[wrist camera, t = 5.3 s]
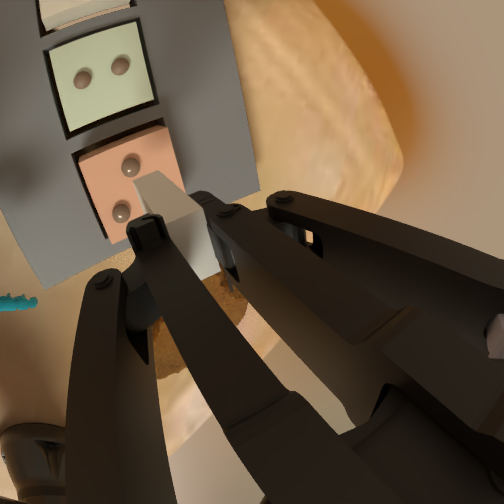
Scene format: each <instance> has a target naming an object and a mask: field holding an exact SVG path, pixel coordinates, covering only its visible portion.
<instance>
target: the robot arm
mask: <svg viewBox="0 0 504 504" xmlns="http://www.w3.org/2000/svg"><path fill="white" fill-rule="evenodd" d="M132 182H133V185H134V187H135V190H136V193H137V196H138V199H139V201H140V204H141V207H142V210H143V212H144V215H142V216H140V217H138V218H136V219H133V220H131V221H129V222H128V224H127V226H126V235H127V237H128V239H129V242H130V244H131V246H132V248H133V251H134V253H135V255H136V257H135V260H134V262H133V263H132V264H131V266H130V267H129V268H127V269H126V270H125V271H124V272H122V273H121V272H120V271H119V270H118V269H114V268H110V269H106V270H103V271H100V272H98V273H96V274H95V275H94V276H93V277H92V278H91V279H90V280H89V282H88V283H87V285H86V288H85V292H84V296H83V301H82V306H81V310H80V315H79V320H78V325H77V331H76V337H75V343H74V349H73V355H72V362H71V370H70V378H69V387H68V398H67V410H66V427H65V429H64V428H61V427H57V426H52V425H45V424H21V425H16V426H13V427H10V428H8V429H7V430H5V431H4V432H3V433H2V435H1V437H0V448H1V455H2V458H3V460H4V462H5V463H6V465H7V469H8V472H9V474H10V477H11V479H12V481H13V483H14V486H15V488H16V491H17V495H18V500H19V501H16V500H13V499H10V498H6V497H3V496H0V504H177V500H176V495H175V491H174V486H173V482H172V477H171V472H170V467H169V462H168V456H167V451H166V445H165V439H164V433H163V426H162V420H161V413H160V405H159V397H158V389H157V380H156V370H155V359H154V348H153V334H152V329H151V327H150V325H152V324H153V323H154V322H155V321H156V320H158V319H159V318H160V317H161V316H162V318H163V320H164V322H165V324H166V326H167V328H168V330H169V332H170V334H171V336H172V338H173V340H174V342H175V344H176V346H177V348H178V350H179V352H180V354H181V356H182V358H183V360H184V362H185V364H186V366H187V368H188V370H189V371H190V373H191V375H192V377H193V379H194V381H195V382H196V384H197V386H198V388H199V390H200V391H201V393H202V395H203V397H204V399H205V400H206V402H207V404H208V405H209V407H210V409H211V411H212V412H213V414H214V416H215V417H216V419H217V421H218V422H219V424H220V425H221V427H222V429H223V432H224V434H225V436H226V437H227V439H228V441H229V442H230V444H231V446H232V447H233V449H234V451H235V452H236V454H237V455H238V457H239V458H240V460H241V461H242V463H243V464H244V466H245V467H246V468H247V470H248V472H249V473H250V474H251V476H252V477H253V479H254V480H255V482H256V483H257V484H258V486H259V487H260V489H261V490H262V491H263V493H264V494H265V496H264V498H263V499H262V501H261V502H260V504H504V260H503V259H498V258H496V257H494V256H491V255H489V254H486V253H484V252H481V251H479V250H476V249H474V248H471V247H468V246H466V245H463V244H461V243H458V242H455V241H453V240H450V239H447V238H444V237H442V236H439V235H436V234H433V233H430V232H427V231H424V230H422V229H419V228H416V227H413V226H410V225H407V224H404V223H401V222H398V221H395V220H392V219H389V218H386V217H382V216H379V215H376V214H373V213H370V212H367V211H363V210H360V209H357V208H353V207H350V206H346V205H343V204H340V203H336V202H333V201H329V200H325V199H322V198H318V197H315V196H311V195H307V194H303V193H300V192H296V191H285V190H283V191H278V192H276V193H274V194H271V195H270V196H269V197H267V200H266V204H267V208H263V209H259V210H254V211H251V210H249V209H248V208H246V207H245V206H243V205H241V204H234V203H232V204H225V203H224V202H222V201H221V200H220V199H218V198H217V197H215V196H214V195H213V194H211V193H210V192H208V191H201V190H200V191H197V192H195V193H192V194H190V195H187V194H186V193H185V192H183V191H182V190H181V189H180V188H179V187H178V186H176V185H175V184H174V183H173V182H172V181H171V180H169V179H168V178H167V177H166V176H165V175H164V174H163V173H161V172H160V171H159V170H157V171H154V172H152V173H149V174H147V175H144V176H142V177H139V178H137V179H135V180H132ZM306 230H308V231H311V232H313V243H310V242H307V241H306ZM218 260H219V262H220V263H221V264H222V265H223V268H224V271H225V275H226V278H227V281H228V285H229V288H230V291H231V292H233V291H234V290H233V285H234V286H235V287H236V288H237V289H238V291H239V292H240V293H241V294H242V295H243V296H244V297H245V298H246V300H247V301H248V302H249V303H250V304H251V305H252V306H253V307H254V309H255V310H256V311H257V312H258V313H259V314H260V315H261V316H262V317H263V319H264V320H265V321H266V322H267V323H268V324H269V325H270V326H271V327H272V329H273V330H274V331H275V332H276V333H277V334H278V335H279V336H280V337H281V338H282V339H283V340H284V342H285V343H286V344H287V345H288V346H289V347H290V348H291V349H292V350H293V351H294V353H295V354H296V355H297V356H298V357H299V358H300V359H301V360H302V361H303V362H304V363H305V364H306V365H307V366H308V367H309V369H310V370H311V371H312V372H313V373H314V374H315V375H316V376H317V377H318V378H319V379H320V380H321V381H322V382H323V383H324V384H325V386H327V388H328V389H329V390H330V391H331V392H332V393H333V394H334V395H335V396H336V397H337V398H338V399H339V400H340V401H341V403H342V404H343V406H344V407H345V410H346V412H347V415H348V417H349V418H350V420H351V421H352V423H353V424H354V425H355V426H356V428H354V429H351V430H349V431H347V432H345V433H343V434H340V435H338V434H337V433H336V432H335V431H334V430H333V429H332V428H331V427H330V426H329V425H328V423H327V422H326V421H325V420H324V419H323V418H322V417H321V416H320V415H319V414H318V412H317V411H316V410H315V409H314V408H313V407H312V406H311V405H310V403H309V402H308V401H307V400H305V398H304V397H303V396H301V395H300V394H299V393H297V392H296V391H289V390H288V389H286V388H285V387H284V386H283V384H281V382H280V381H279V380H278V379H277V377H276V376H275V375H274V374H273V373H272V371H271V370H270V369H269V368H268V366H267V365H266V364H265V363H264V362H263V360H262V359H261V358H260V357H259V355H258V354H257V353H256V352H255V350H254V349H253V348H252V347H251V345H250V344H249V343H248V342H247V340H246V339H245V338H244V336H243V335H242V334H241V333H240V331H239V330H238V329H237V327H236V326H235V325H234V324H233V322H232V321H231V320H230V318H229V317H228V316H227V315H226V313H225V312H224V311H223V309H222V308H221V307H220V305H219V304H218V303H217V301H216V300H215V299H214V297H213V296H212V295H211V293H210V292H209V291H208V289H207V288H206V287H205V285H204V284H203V283H202V281H201V280H203V279H205V278H207V277H210V276H212V275H214V274H216V273H218V272H220V271H221V269H220V266H219V263H218Z"/></svg>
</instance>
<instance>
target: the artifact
mask: <svg viewBox="0 0 504 504" xmlns="http://www.w3.org/2000/svg"><path fill="white" fill-rule="evenodd" d="M220 269H221V271H220V272H218V273H216V274H214V275H212V276H210V277H207V278H205V279H203V280H201V281H202V283H203V284H204V285H205V287H206V288H207V289H208V291H209V292H210V293H211V295H212V296H213V297H214V299H215V300H216V301H217V303H218V304H219V305H220V307H221V308H222V309H223V311H224V312H225V313H226V315H227V316H228V317H229V318H230V320H231V321H232V322H233V324H234V325H235V326H236V325H238V324H239V322H240V321H241V320H242V318H243V317H244V315H245V312H246V309H247V304H248V301H247V300H246V298H245V297H244V296H243V295H242V294H241V293H240V292H239V291H238V289H237V288H236V287H235V286H234V285H233V290H234V291H233V292H231V291H230V288H229V285H228V281H227V278H226V277H225V274H224V271H223V269H222V268H221V267H220ZM152 334H153V348H154V359H155V370H156V379H163V378H166V377H167V376H169V375H171V374H173V373H179V372H180V371H181V370H183V369H184V368H186V367H187V366H186V364H185V362H184V360H183V358H182V356H181V354H180V352H179V350H178V348H177V346H176V344H175V342H174V340H173V338H172V336H171V334H170V332H169V330H168V328H167V326H166V324H165V322H164V320H163V318H162V316H161V317H160V318H159V319H158V320H156V321H155V323H154V329H153V331H152Z"/></svg>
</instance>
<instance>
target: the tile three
mask: <svg viewBox="0 0 504 504" xmlns="http://www.w3.org/2000/svg"><path fill="white" fill-rule="evenodd" d="M79 166H80V168H81V171H82V174H83V177H84V179H85V182H86V184H87V187H88V190H89V192H90V195H91V197H92V200H93V202H94V204H95V207H96V209H97V212H98V214H99V216H100V219H101V221H102V223H103V226H104V228H105V230H106V232H107V235H108V237H109V239H110V241H111V243H112V245H113V244H115V243H117V242H119V241H121V240H123V239H125V238H128V237H127V235H126V226H127V224H128V222H129V221H131V220H133V219H136V218H138V217H140V216H142V215H144V212H143V210H142V207H141V204H140V201H139V199H138V196H137V193H136V190H135V187H134V185H133V182H132V180H135V179H137V178H139V177H142V176H144V175H147V174H149V173H152V172H154V171H157V170H159V171H160V172H161V173H163V174H164V175H165V176H166V177H167V178H168V179H169V180H171V181H172V182H173V183H174V184H175V185H176V186H178V187H179V188H180V189H181V190H182V191H183V192H185V188H184V185H183V181H182V178H181V174H180V171H179V167H178V164H177V160H176V157H175V153H174V149H173V146H172V142H171V138H170V135H169V131H168V127H163V126H158V125H156V126H153V127H151V128H148V129H145V130H142V131H140V132H137V133H134V134H132V135H129V136H126V137H124V138H121V139H119V140H116V141H114V142H111V143H109V144H107V145H104V146H102V147H100V148H97V149H95V150H93V151H91V152H88V153H86V154H84V155H82V156H80V157H79ZM185 193H186V192H185Z"/></svg>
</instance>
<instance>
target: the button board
mask: <svg viewBox="0 0 504 504" xmlns="http://www.w3.org/2000/svg"><path fill="white" fill-rule="evenodd" d="M129 4H130V8H126V9H122V10H118V11H115V12H111V13H108V14H104V15H101V16H98V17H95V18H91V19H88V20H85V21H82V22H80V23H77V24H74V25H71V26H68V27H66V28H63V29H61V30H58V31H56V32H53V33H51V34H49V35H46V36H44V37H43V35H42V29H41V23H40V16H39V9H38V0H0V209H1V211H2V213H3V215H4V217H5V219H6V221H7V223H8V225H9V227H10V229H11V231H12V233H13V235H14V237H15V239H16V241H17V243H18V245H19V247H20V249H21V250H22V252H23V254H24V256H25V258H26V259H27V261H28V263H29V264H30V266H31V268H32V270H33V271H34V273H35V275H36V276H37V278H38V279H39V281H40V283H41V284H42V286H43V287H44V289H45V290H47V289H49V288H50V287H52V286H54V285H56V284H58V283H60V282H62V281H64V280H66V279H68V278H69V277H71V276H73V275H75V274H77V273H79V272H81V271H83V270H85V269H87V268H89V267H91V266H93V265H95V264H97V263H99V262H101V261H103V260H105V259H107V258H109V257H111V256H113V255H115V254H117V253H120V252H122V251H124V250H126V249H128V248H130V247H132V246H131V244H130V242H129V239H128V238H125V239H123V240H121V241H119V242H117V243H115V244H113V245H112V243H111V241H110V239H109V237H108V235H107V232H106V230H105V228H104V227H102V225H101V222H100V220H99V218H98V216H97V213H96V211H95V208H94V206H93V204H92V201H91V199H90V196H89V194H88V191H87V189H86V186H85V184H84V181H83V178H82V176H81V173H80V170H79V168H78V165H77V162H76V159H75V156H74V154H73V153H74V152H76V151H78V150H80V149H82V148H85V147H87V146H89V145H91V144H94V143H96V142H98V141H101V140H103V139H105V138H108V137H110V136H113V135H115V134H118V133H120V132H123V131H125V130H128V129H131V128H133V127H136V126H139V125H141V124H144V123H147V122H150V121H153V120H157V123H158V126H163V127H168V131H169V135H170V138H171V142H172V146H173V149H174V153H175V157H176V160H177V164H178V167H179V171H180V174H181V178H182V181H183V185H184V188H185V192H186V194H187V195H190V194H192V193H195V192H197V191H200V190H201V191H208V192H210V193H211V194H213V195H214V196H215V197H217V198H218V199H220V200H221V201H222V202H224V203H225V204H229V203H231V202H233V201H236V200H238V199H241V198H243V197H246V196H248V195H251V194H253V193H255V192H258V191H260V185H259V180H258V174H257V169H256V163H255V158H254V152H253V147H252V142H251V136H250V131H249V126H248V120H247V115H246V110H245V105H244V100H243V94H242V89H241V84H240V79H239V74H238V69H237V64H236V59H235V54H234V49H233V45H232V40H231V35H230V30H229V25H228V21H227V16H226V11H225V7H224V2H223V0H130V2H129ZM133 22H136V24H137V29H138V33H139V38H140V43H141V47H142V51H143V56H144V60H145V64H146V69H147V73H148V77H149V81H150V85H151V89H152V93H153V97H154V99H153V100H151V101H152V105H150V106H147V107H144V108H141V109H139V110H136V111H133V112H130V113H127V114H125V115H122V116H119V117H117V118H114V119H111V120H109V121H106V122H104V123H101V124H99V125H97V126H94V127H92V128H90V129H87V130H85V131H83V132H80V133H78V134H76V135H74V136H72V137H69V138H68V136H67V133H66V129H65V126H64V123H63V120H62V116H61V113H60V109H59V106H58V102H57V98H56V95H55V91H54V87H53V83H52V79H51V75H50V70H49V66H48V61H47V56H49V55H50V53H49V51H51V50H53V49H56V48H58V47H60V46H63V45H65V44H68V43H70V42H73V41H76V40H78V39H81V38H84V37H87V36H89V35H92V34H95V33H98V32H101V31H105V30H108V29H111V28H115V27H118V26H122V25H125V24H129V23H133Z"/></svg>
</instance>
